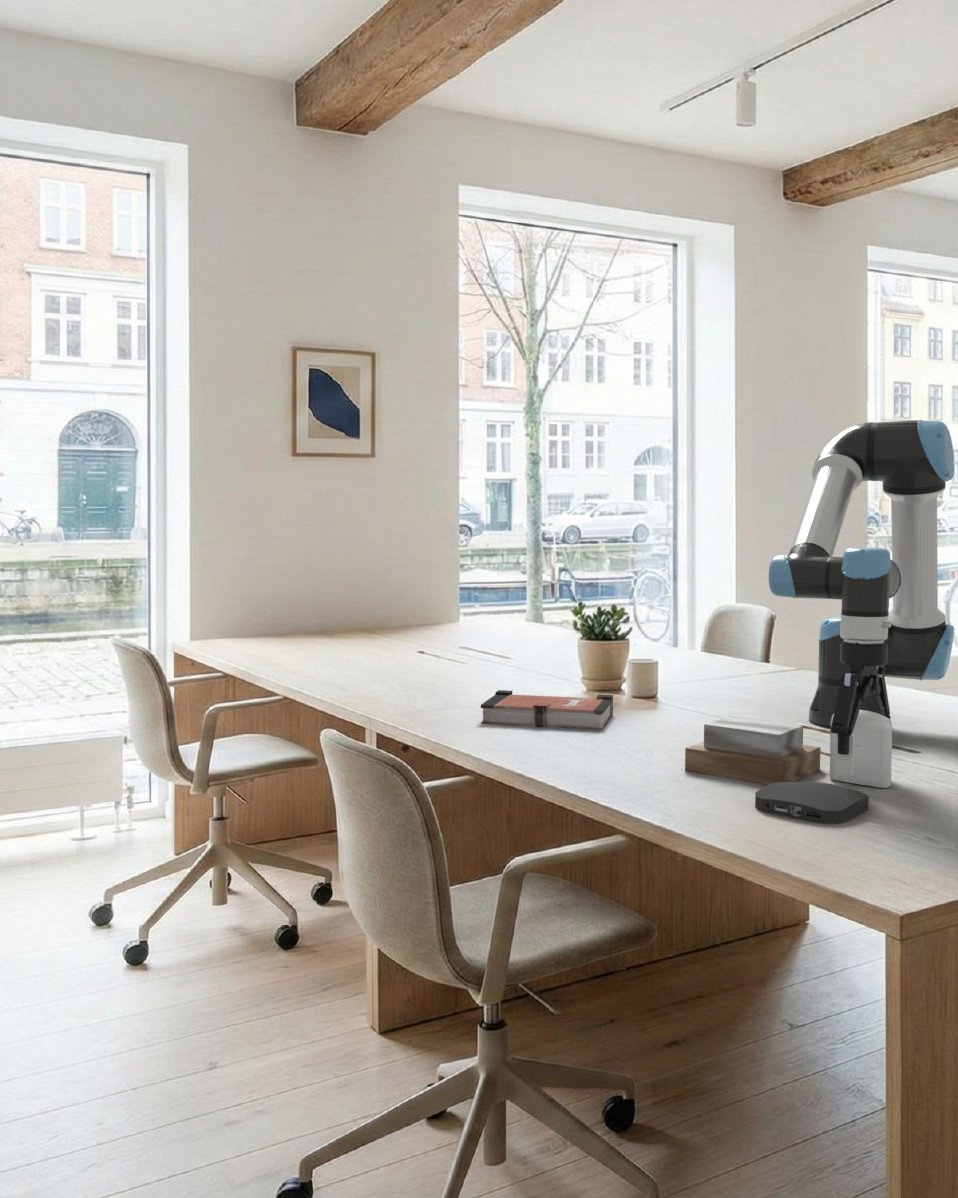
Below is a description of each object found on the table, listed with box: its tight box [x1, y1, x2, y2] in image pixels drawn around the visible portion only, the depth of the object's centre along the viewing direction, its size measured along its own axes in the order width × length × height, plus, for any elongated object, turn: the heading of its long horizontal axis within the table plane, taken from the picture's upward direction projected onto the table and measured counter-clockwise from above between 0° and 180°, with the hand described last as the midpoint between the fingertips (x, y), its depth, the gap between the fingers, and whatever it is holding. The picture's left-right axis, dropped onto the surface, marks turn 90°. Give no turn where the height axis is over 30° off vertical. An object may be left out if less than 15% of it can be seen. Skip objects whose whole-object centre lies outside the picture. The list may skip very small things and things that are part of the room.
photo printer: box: [829, 710, 893, 789], centre depth 186 cm, size 10×4×12 cm, turn 47°
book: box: [480, 689, 614, 731], centre depth 242 cm, size 26×18×5 cm
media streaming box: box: [754, 781, 870, 824], centre depth 171 cm, size 15×15×3 cm
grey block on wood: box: [684, 715, 822, 785], centre depth 196 cm, size 16×18×8 cm
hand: (860, 766), depth 187 cm, fingers open, 13 cm apart
